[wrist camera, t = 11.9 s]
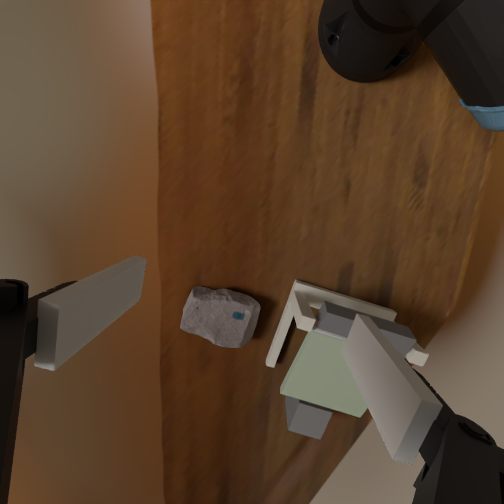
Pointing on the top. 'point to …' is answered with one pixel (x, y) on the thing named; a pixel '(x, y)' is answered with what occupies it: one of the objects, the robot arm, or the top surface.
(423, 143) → the top surface
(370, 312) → the stand
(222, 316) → the stone
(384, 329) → the trapdoor
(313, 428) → the basalt block
